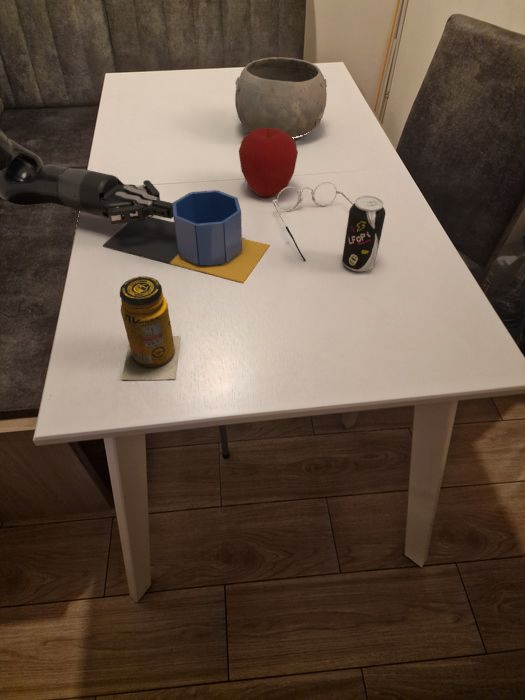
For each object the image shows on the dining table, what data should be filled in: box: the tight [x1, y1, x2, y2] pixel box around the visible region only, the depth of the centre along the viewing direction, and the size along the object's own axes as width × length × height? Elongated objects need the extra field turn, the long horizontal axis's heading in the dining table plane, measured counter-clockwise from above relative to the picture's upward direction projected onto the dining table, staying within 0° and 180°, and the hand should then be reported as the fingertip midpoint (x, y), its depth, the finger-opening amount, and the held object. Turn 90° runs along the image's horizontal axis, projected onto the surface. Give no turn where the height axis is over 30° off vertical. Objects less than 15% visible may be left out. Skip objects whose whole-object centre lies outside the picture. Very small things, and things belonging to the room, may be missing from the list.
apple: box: [238, 128, 299, 198], centre depth 98 cm, size 12×12×13 cm
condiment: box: [119, 275, 181, 381], centre depth 64 cm, size 7×8×12 cm
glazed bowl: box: [171, 189, 243, 266], centre depth 84 cm, size 11×11×8 cm
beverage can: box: [341, 195, 386, 273], centre depth 81 cm, size 6×6×12 cm
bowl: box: [234, 56, 328, 141], centre depth 120 cm, size 23×23×15 cm
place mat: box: [102, 216, 271, 284], centre depth 88 cm, size 28×12×1 cm, turn 68°
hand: (174, 211), depth 84 cm, fingers closed
